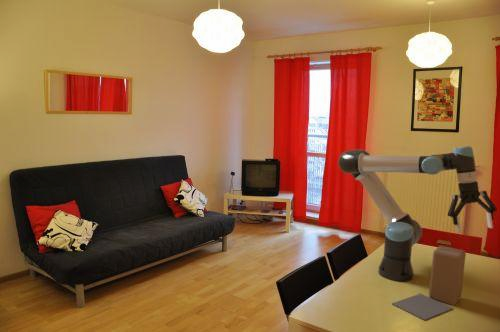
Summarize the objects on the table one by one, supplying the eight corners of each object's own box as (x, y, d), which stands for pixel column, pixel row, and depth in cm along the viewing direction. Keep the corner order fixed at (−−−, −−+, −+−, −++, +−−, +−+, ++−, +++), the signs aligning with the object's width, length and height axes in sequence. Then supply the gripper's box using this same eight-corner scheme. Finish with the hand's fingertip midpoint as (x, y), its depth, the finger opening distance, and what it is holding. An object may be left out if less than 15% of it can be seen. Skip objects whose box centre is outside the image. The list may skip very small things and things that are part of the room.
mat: (420, 294, 164) (420, 293, 164) (453, 308, 153) (453, 307, 153) (391, 304, 155) (391, 303, 155) (424, 320, 143) (424, 319, 143)
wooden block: (435, 290, 169) (439, 244, 166) (461, 298, 163) (466, 250, 160) (428, 298, 161) (432, 250, 159) (455, 306, 155) (460, 256, 152)
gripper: (442, 186, 173) (449, 235, 172) (501, 177, 171) (508, 227, 171) (435, 185, 180) (442, 232, 180) (491, 177, 179) (498, 224, 179)
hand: (474, 229), depth 176 cm, fingers open, 13 cm apart
